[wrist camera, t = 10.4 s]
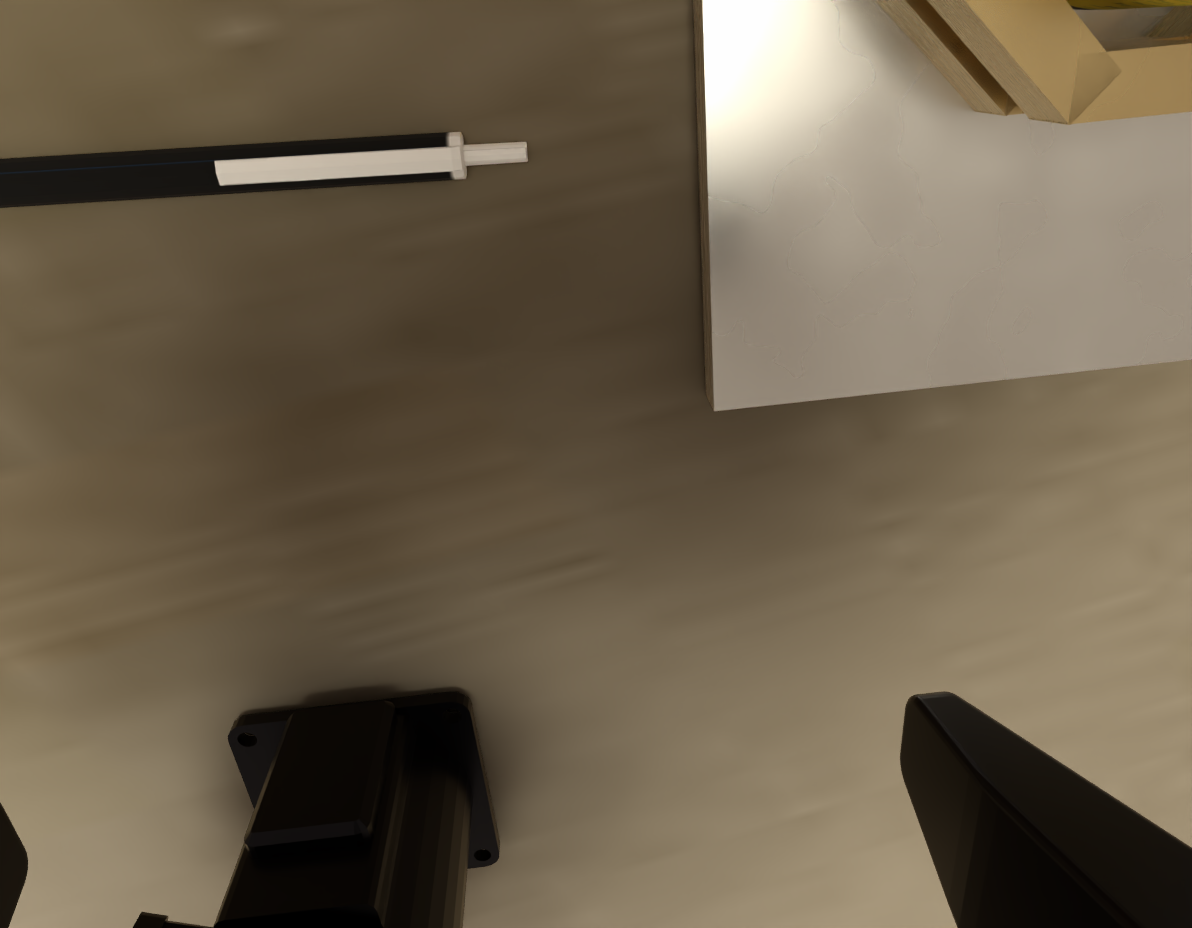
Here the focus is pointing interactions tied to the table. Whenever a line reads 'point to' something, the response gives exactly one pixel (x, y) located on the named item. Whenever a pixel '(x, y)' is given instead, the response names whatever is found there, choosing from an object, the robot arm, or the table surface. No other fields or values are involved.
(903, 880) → the table surface
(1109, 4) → the supplement bottle
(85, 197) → the pen
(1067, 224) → the plate
